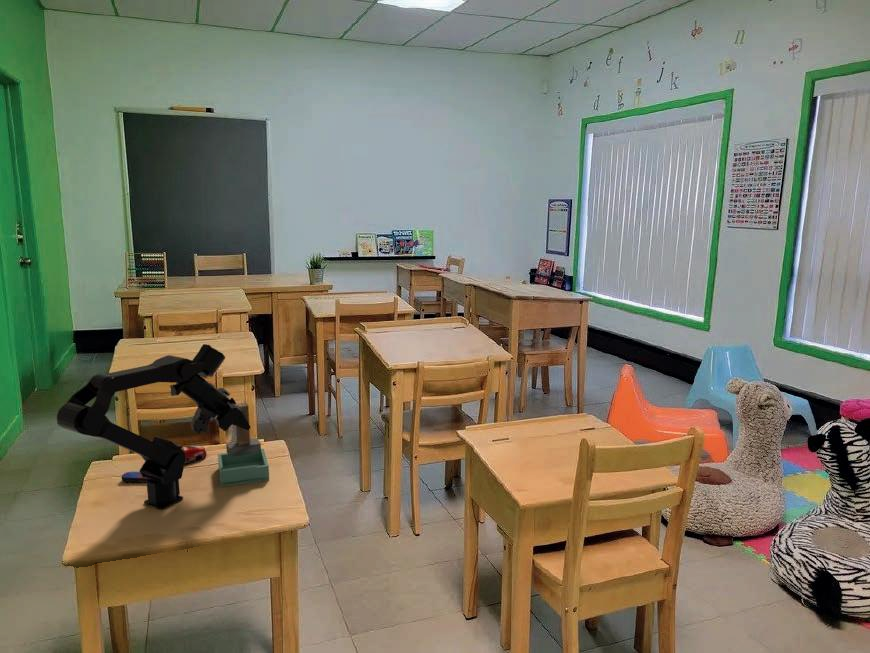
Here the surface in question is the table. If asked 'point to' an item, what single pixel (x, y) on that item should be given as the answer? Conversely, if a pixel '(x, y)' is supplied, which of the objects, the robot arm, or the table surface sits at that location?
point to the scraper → (243, 438)
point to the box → (243, 468)
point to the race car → (194, 453)
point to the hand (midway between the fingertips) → (248, 426)
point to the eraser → (133, 478)
